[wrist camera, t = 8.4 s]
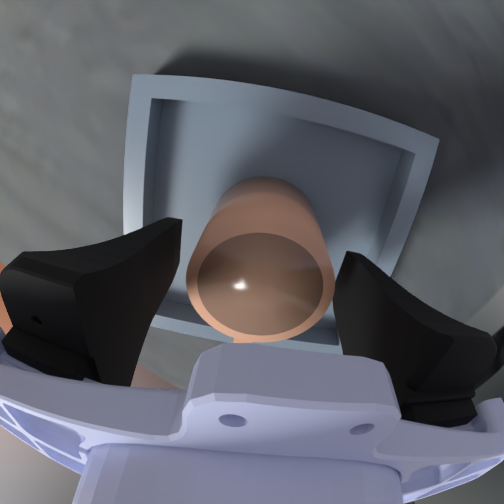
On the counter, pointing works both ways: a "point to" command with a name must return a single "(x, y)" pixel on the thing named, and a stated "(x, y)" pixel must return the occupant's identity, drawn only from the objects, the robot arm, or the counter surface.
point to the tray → (269, 175)
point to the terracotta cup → (261, 264)
